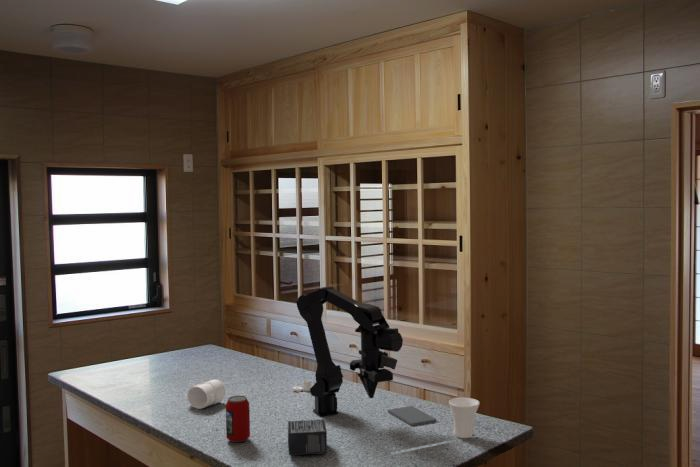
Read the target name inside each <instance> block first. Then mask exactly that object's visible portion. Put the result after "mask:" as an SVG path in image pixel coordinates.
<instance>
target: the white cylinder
mask: <svg viewBox="0 0 700 467" xmlns="http://www.w3.org/2000/svg"><path fill="white" fill-rule="evenodd" d="M224 385H225V384H223V382H222V381H221V380H219V379H211V380H208V381H205V382H201V383H198V384H195V385H193V386H192V387H189V389H188V391H187V400H188V402H189V404H190V406H192V407H193V408H195V409H198V410H201V409H204V408H206V407H209V406H214V405H216V404H218V403H221V402H223V401H224V400H225V397H226V388H225V386H224Z"/></svg>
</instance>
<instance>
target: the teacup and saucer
mask: <svg viewBox="0 0 700 467" xmlns="http://www.w3.org/2000/svg"><path fill="white" fill-rule="evenodd" d="M315 383H316V382H314V381H312V380H311V379H302V387H301V386H293V387H292V390H293V391H294V392H296V393H297V394H303V395H308V394H310V395H311V392H310V389H311V387H312V384H313V385H314V384H315Z"/></svg>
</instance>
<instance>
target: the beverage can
mask: <svg viewBox="0 0 700 467" xmlns="http://www.w3.org/2000/svg"><path fill="white" fill-rule="evenodd" d="M250 417H251V415H250V402H249V400H248V398H247V396H246V395H233V396H229V397H228V398H227V401H226V403H225V423H226V424H225V427H226V428H225V431H226V439H227V440H229V441H230V442H233V443H242V442H245V441H247V440H248V439H249V438H250V436H251V420H250V419H251V418H250Z"/></svg>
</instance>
